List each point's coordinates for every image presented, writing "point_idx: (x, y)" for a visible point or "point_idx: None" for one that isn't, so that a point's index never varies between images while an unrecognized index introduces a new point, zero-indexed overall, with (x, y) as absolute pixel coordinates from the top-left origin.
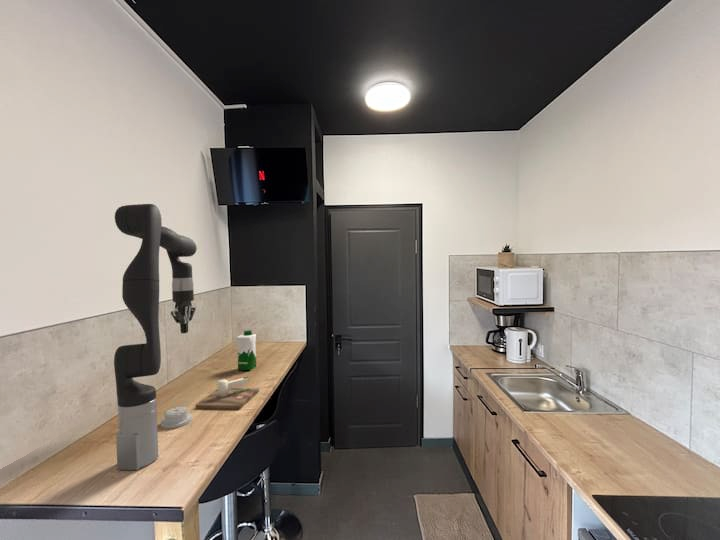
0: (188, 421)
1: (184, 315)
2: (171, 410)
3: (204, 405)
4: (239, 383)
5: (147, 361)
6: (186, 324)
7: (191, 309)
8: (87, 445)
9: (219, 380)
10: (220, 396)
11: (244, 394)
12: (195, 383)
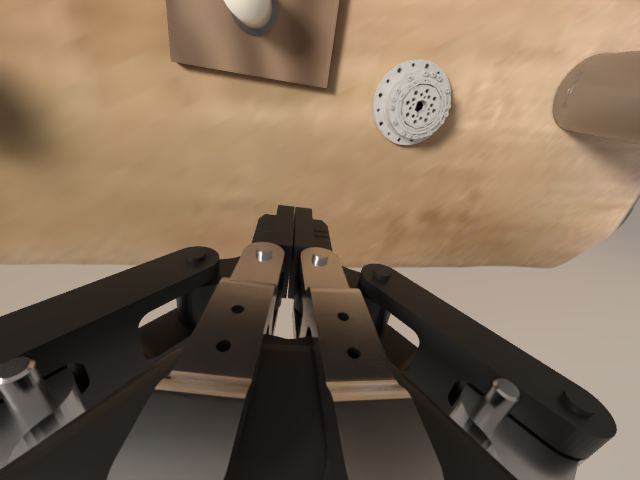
0: (429, 62)
1: (366, 323)
2: (417, 123)
3: (331, 53)
4: None
5: None
6: (298, 242)
7: (4, 409)
8: (468, 239)
9: (235, 12)
10: (271, 9)
11: None
12: (115, 189)
